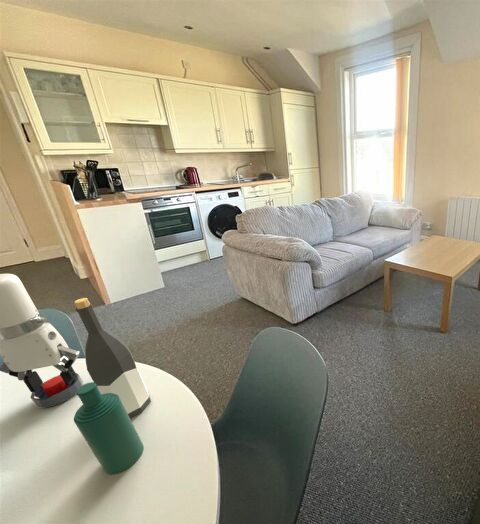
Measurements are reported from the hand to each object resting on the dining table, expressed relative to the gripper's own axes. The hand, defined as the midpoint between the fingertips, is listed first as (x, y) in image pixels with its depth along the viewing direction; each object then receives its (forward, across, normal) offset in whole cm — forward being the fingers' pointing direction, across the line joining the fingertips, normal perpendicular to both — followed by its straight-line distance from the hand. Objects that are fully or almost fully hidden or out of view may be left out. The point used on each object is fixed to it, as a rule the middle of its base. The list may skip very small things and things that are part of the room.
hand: (54, 383), depth 73 cm
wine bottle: (+4, -20, +10) cm, 23 cm away
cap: (+3, 0, 0) cm, 3 cm away
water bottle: (+4, -24, +24) cm, 34 cm away
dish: (+4, 0, 0) cm, 4 cm away
